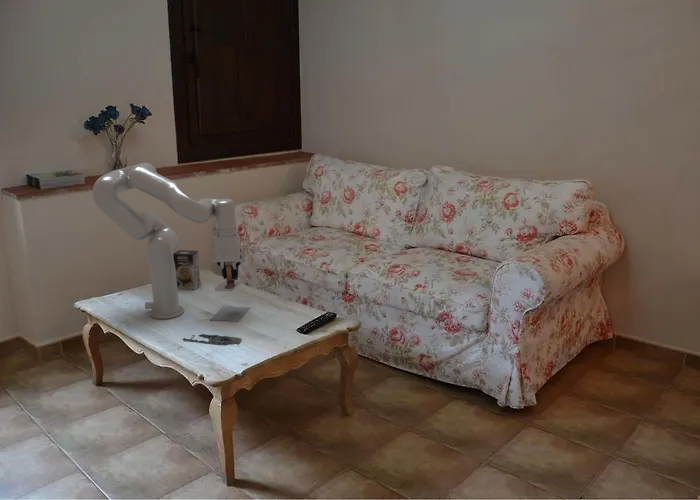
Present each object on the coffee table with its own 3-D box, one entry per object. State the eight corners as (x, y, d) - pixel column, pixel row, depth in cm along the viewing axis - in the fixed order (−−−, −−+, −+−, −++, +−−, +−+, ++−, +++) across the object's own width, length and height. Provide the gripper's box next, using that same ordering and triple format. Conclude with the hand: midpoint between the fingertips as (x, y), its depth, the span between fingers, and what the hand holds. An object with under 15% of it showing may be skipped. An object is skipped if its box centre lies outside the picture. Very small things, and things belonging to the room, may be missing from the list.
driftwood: (244, 341, 227) (244, 335, 227) (235, 349, 221) (235, 343, 221) (192, 335, 234) (192, 330, 233) (182, 343, 228) (182, 337, 227)
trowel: (214, 290, 243) (213, 270, 241) (224, 282, 252) (222, 262, 250) (232, 291, 242) (230, 271, 239) (241, 282, 251) (240, 263, 249)
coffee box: (175, 289, 279) (172, 253, 275) (181, 284, 286) (178, 249, 281) (195, 290, 278) (192, 254, 273) (201, 285, 284) (198, 250, 280)
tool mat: (210, 320, 245) (210, 319, 245) (223, 307, 258) (223, 306, 258) (237, 321, 243) (237, 320, 243) (249, 308, 256) (249, 307, 256)
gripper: (202, 234, 242) (206, 280, 247) (244, 234, 239) (247, 281, 244) (209, 229, 249) (213, 274, 254) (250, 229, 246) (253, 275, 251)
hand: (230, 277), depth 249 cm, fingers closed on trowel, 3 cm apart
